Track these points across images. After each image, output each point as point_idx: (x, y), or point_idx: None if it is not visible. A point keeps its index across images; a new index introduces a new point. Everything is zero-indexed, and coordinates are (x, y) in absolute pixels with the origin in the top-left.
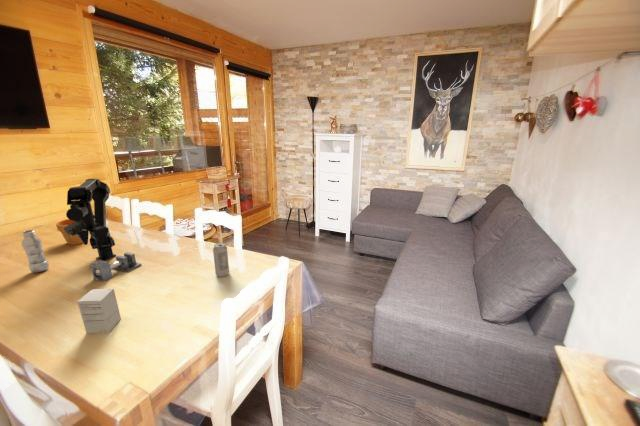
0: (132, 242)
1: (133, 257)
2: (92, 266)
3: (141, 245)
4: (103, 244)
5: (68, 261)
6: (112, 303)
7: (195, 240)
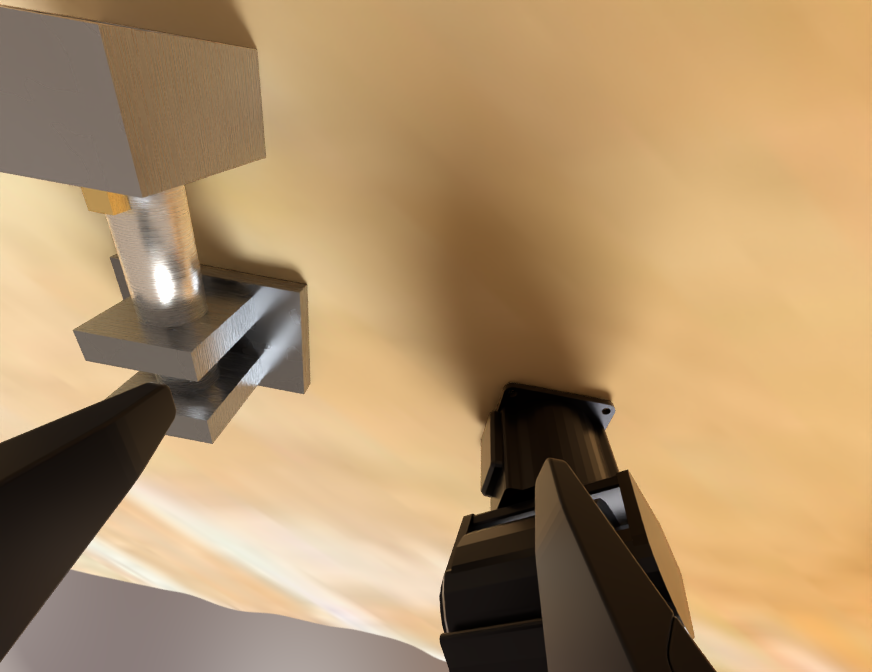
0: None
1: None
2: (86, 21)
3: None
4: (495, 530)
5: (867, 334)
6: None
7: (220, 601)
